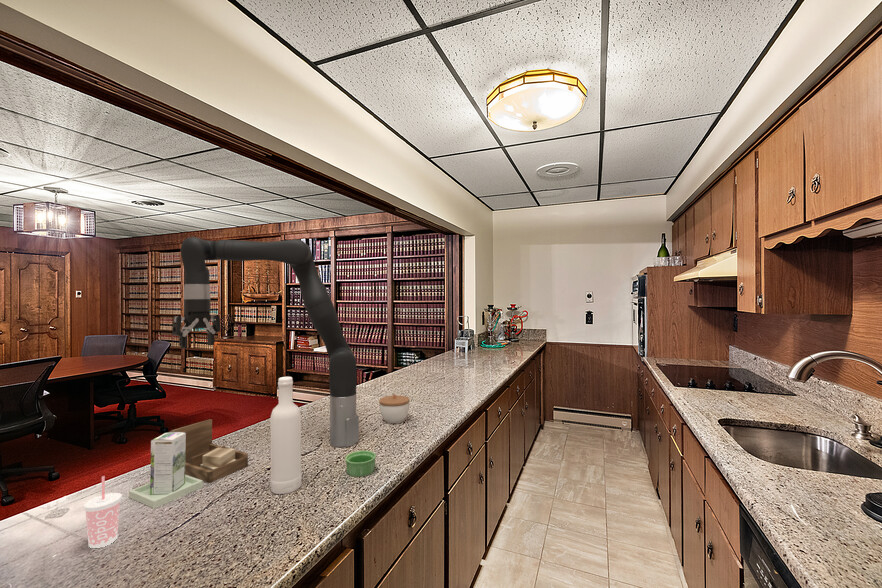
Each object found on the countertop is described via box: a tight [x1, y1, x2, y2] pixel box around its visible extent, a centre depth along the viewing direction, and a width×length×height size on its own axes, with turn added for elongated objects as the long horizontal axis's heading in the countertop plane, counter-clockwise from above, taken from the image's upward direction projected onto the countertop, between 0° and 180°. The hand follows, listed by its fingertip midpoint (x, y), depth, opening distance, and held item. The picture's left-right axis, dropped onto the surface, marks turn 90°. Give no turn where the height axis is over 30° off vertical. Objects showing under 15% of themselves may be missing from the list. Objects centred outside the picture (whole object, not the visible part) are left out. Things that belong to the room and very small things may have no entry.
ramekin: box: [344, 450, 377, 478], centre depth 114 cm, size 9×9×4 cm
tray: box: [128, 475, 204, 509], centre depth 102 cm, size 12×12×2 cm
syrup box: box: [149, 431, 186, 495], centre depth 103 cm, size 6×6×14 cm
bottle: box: [269, 376, 302, 495], centre depth 104 cm, size 8×8×30 cm
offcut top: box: [203, 447, 236, 467], centre depth 115 cm, size 6×6×3 cm
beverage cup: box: [83, 475, 123, 549], centre depth 81 cm, size 6×6×14 cm
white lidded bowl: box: [378, 394, 410, 424], centre depth 160 cm, size 13×13×11 cm
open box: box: [170, 419, 249, 484], centre depth 117 cm, size 19×12×12 cm, turn 63°
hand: (197, 346), depth 126 cm, fingers open, 8 cm apart
